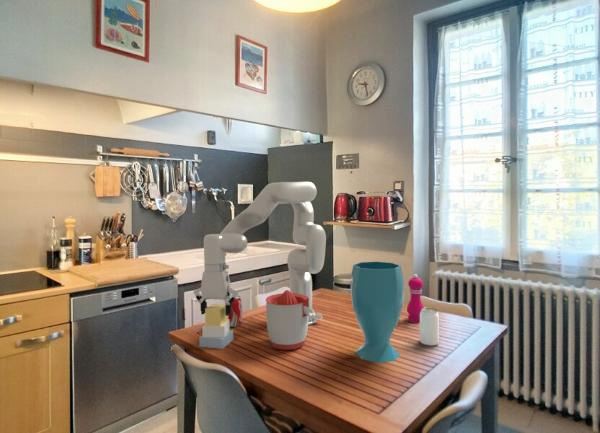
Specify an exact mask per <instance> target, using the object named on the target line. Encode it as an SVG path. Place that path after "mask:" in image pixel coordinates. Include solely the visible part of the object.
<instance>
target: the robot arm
mask: <svg viewBox="0 0 600 433" xmlns="http://www.w3.org/2000/svg"><path fill="white" fill-rule="evenodd" d="M317 192H318V191H317V187H316V185H315V184H314V183H313V182H311V181H280V182H279V181H277V182H271V183H269V184H266V185H265V187H264V188H263V189H261V191H260V193H259V194H258V195H257V196H255V198H254V200H252V202H251V203H250V204H249V205H248V206H247V208H246V209H243V211H241V212H240V213H239V214H237V215H236V216H235V217H234V218H232V219H231V220H230V221H229V222H228V223H227V224H226V226H225V227H224V228H223V229H222V231H220V233H210V234H206V235H205V236H204V237H203V261H204V263H203V264H204V266H203V267H204V271H203V272H202V275H201V276H202V277H201V282H200V283H201V285H200V287H198V288H196V289H195V290H193V293H194V296H195V299H196V300H197V301H198V303H199V304H200V312H201V315H204V314H205V308H207V307H208V302H207V300H223V301H224V302H226V304H227V305H225V304H224V305H225V313H226V316H228V315H230V314H231V312H232V303H233V301H234V300H235V299H236V297H237V295H238V296H239V292H238V291H237V290H235V289H234V288H232V287H231V280H230V275H229V271H228V269H229V268H230V266H229V265H228V264H226V254H227V253H229V254H239V253H242V252H243V251H245V250H246V249H247V247H248V239H247V237H246V236H245V235H244V234H245V232H247V231H248V230H249V229H252V228H255V227H256V226H259V225H261V224H263V223H264V222H265V221H266V220H267V219H268V217H270V215H271V213H272V212H273V211H274V210H275V209H276V207H277V206H278V205H280V204H282V205H285V204H291V207H292V209H293V214H294V216H293V227H292V239H293V242H294V244H297V245H299V246H303V247H305V248H299V247H298V248H293V249H291V251H290V252H289V253H288V255H287V267H288V275H289V291H290V292H291V293H296V294H302V295H305V296H307V297H308V298H309V308H311V309H312V310H313V315H312V316H309V315H308V326H311V325H314V324H315V323H316V322H317V320H323V314H321V313H319V312H318V313H316V312H315V309H313V278H312V275H311V274H314V275H315V274H318V273H320V272H321V271H322V269H323V267H324V264H325V257H326V247H327V246H326V244H327V235H326V231H325V229H324V227H322V226H321V225H320V224H316V223H314V218H315V216H314V214H315V212H314V208H313V204H312V201H314V200H315V199H316V196H317V195H318V193H317ZM232 295H233V296H232ZM229 296H232V298H230V297H229Z"/></svg>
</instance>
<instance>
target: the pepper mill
mask: <svg viewBox="0 0 600 433" xmlns="http://www.w3.org/2000/svg"><path fill="white" fill-rule="evenodd" d="M412 276H413V277H412V278H410V279H409V280H408V283H407V284H408V285H407V286H408V287H409V291H408V292H409V293H410V299H409V302H408V304H407V307H406V312H407V313H408V316H407V320H408V321H409V322H411V323H420V312H421V309H422V308H425V307H424V305H423V302H422V299H421V295H422V292H423V290H422V288H423V286H424V282H423V280H422V279H421V278H420V277H419V276H418V274H416V273H415V274H413V275H412Z"/></svg>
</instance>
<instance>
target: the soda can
mask: <svg viewBox="0 0 600 433" xmlns="http://www.w3.org/2000/svg"><path fill="white" fill-rule="evenodd" d="M232 296H233V294H231V295H230V296H229V297H230V298H232ZM242 300H243V299H242V298H241V296H240V295H239V294H238V295H237V297H236V299H235V300H234V301H233V303H232V312H231V314H230V315H228V319H229V323H230V327H231V328H236V327H239V326H241V325H242V324H243V301H242ZM224 302H225V301H224ZM224 305H227V304H226V302H225V304H224Z"/></svg>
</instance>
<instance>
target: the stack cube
mask: <svg viewBox="0 0 600 433" xmlns="http://www.w3.org/2000/svg"><path fill="white" fill-rule="evenodd" d="M204 314H205V315H204V318H205V323H206V325H212V326H221V325H223V324H224V323H226V322H227V321H228V316H226V313H225V304H219V303H218V304H217V303H213V304H211V305H209V306H207V308H205V313H204Z"/></svg>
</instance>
